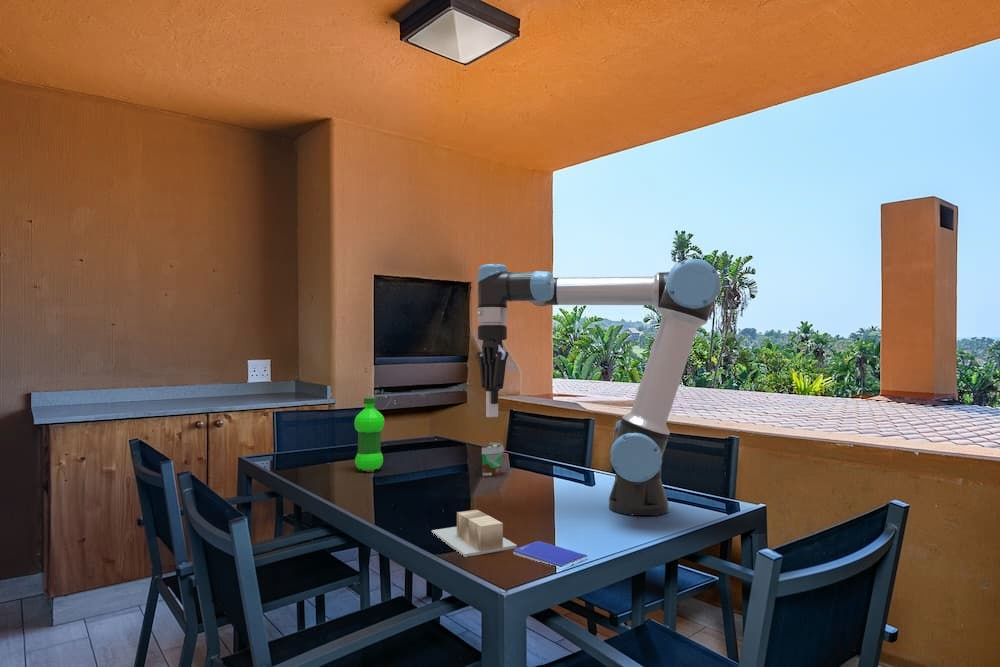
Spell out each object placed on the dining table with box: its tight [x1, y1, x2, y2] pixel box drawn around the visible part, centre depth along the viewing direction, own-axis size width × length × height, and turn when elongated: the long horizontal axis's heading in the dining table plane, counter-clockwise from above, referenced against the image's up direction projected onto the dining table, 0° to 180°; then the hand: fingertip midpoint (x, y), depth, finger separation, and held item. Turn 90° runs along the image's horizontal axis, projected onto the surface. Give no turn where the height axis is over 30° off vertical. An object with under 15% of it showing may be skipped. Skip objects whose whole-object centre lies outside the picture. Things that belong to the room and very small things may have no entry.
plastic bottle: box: [353, 397, 385, 470], centre depth 205 cm, size 10×10×25 cm
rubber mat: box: [431, 526, 518, 558], centre depth 129 cm, size 18×12×1 cm, turn 28°
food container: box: [481, 442, 505, 478], centre depth 198 cm, size 12×6×10 cm, turn 168°
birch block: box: [456, 509, 504, 551], centre depth 127 cm, size 5×5×12 cm
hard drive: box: [513, 540, 588, 567], centre depth 119 cm, size 2×8×12 cm
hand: (492, 416), depth 153 cm, fingers closed
